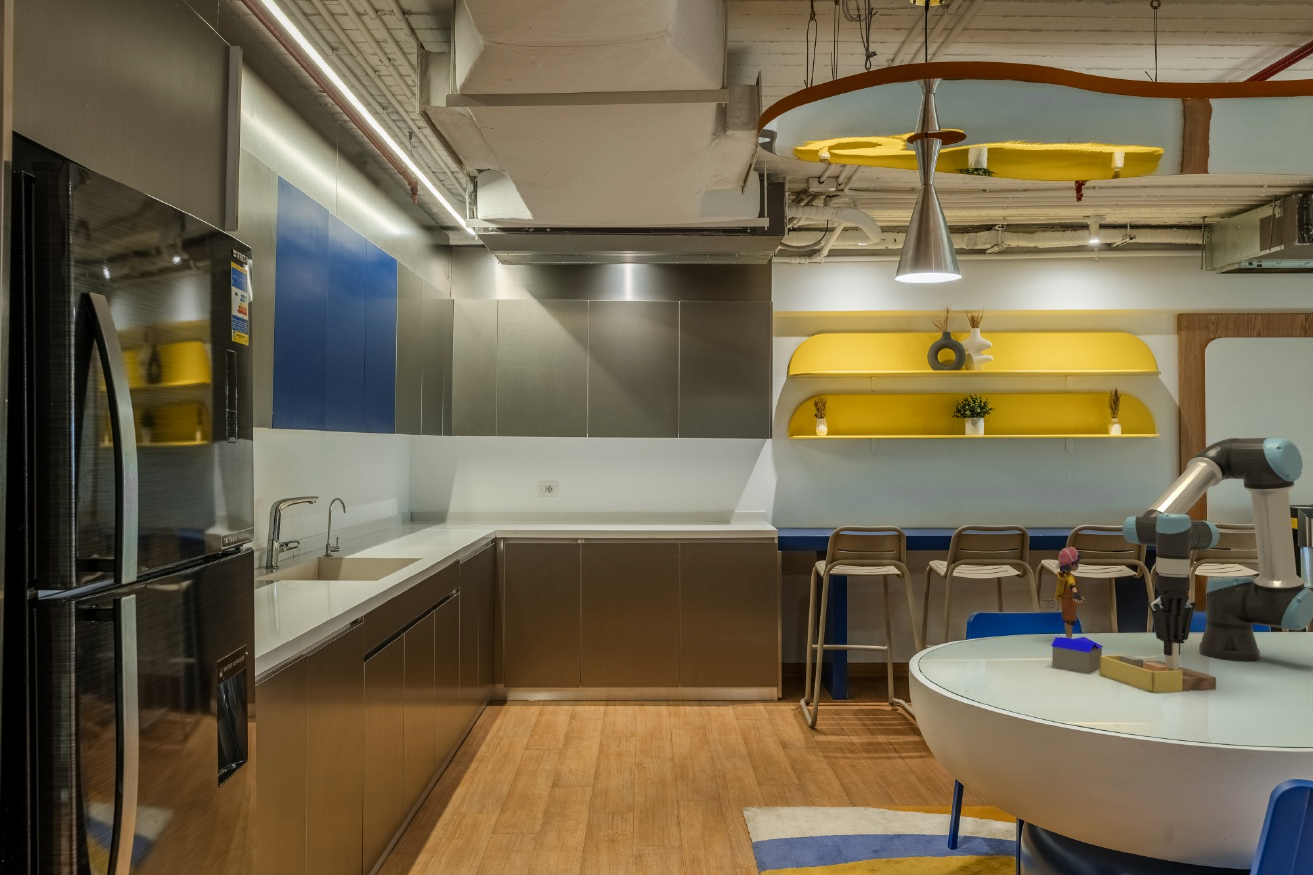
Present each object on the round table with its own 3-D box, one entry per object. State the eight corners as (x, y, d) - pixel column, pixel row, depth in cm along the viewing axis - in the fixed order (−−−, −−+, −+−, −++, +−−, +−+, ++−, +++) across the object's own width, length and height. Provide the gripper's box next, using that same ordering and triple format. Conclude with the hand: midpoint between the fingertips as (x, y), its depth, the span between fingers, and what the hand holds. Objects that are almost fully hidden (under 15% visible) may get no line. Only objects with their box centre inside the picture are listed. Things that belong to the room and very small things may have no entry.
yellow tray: (1127, 673, 240) (1127, 654, 240) (1182, 691, 222) (1182, 670, 222) (1099, 674, 237) (1099, 655, 238) (1152, 692, 220) (1152, 672, 220)
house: (1062, 661, 253) (1063, 633, 253) (1103, 668, 246) (1103, 639, 246) (1048, 667, 245) (1048, 638, 246) (1089, 674, 238) (1090, 644, 238)
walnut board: (1159, 672, 242) (1159, 660, 242) (1215, 689, 225) (1215, 677, 225) (1127, 673, 240) (1128, 662, 240) (1182, 691, 222) (1182, 678, 222)
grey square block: (1128, 655, 237) (1119, 655, 236) (1143, 659, 232) (1133, 659, 231) (1128, 674, 237) (1118, 674, 236) (1143, 678, 232) (1133, 679, 231)
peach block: (1152, 662, 229) (1143, 662, 228) (1168, 666, 224) (1158, 667, 224) (1152, 681, 229) (1142, 682, 228) (1168, 686, 224) (1158, 687, 223)
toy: (1090, 653, 265) (1091, 551, 265) (1064, 651, 266) (1065, 550, 267) (1070, 637, 288) (1071, 543, 289) (1045, 635, 289) (1047, 542, 290)
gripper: (1182, 572, 233) (1181, 663, 233) (1139, 573, 230) (1138, 665, 230) (1206, 576, 226) (1205, 670, 225) (1163, 577, 223) (1162, 672, 222)
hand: (1171, 668), depth 228 cm, fingers closed
